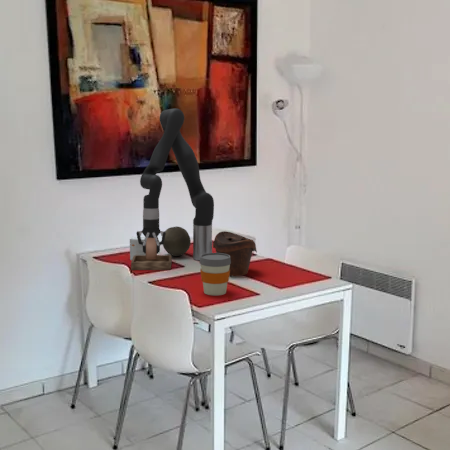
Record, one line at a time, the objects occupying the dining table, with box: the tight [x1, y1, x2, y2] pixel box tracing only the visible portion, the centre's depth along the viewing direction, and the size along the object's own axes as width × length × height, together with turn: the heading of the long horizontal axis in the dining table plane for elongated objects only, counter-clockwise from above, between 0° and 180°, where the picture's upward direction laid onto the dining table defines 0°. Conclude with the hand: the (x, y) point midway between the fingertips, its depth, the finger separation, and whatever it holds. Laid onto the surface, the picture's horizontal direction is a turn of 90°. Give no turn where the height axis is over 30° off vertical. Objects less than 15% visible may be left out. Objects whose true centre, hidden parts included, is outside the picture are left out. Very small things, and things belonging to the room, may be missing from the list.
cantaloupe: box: [162, 226, 192, 257], centre depth 311 cm, size 14×14×15 cm
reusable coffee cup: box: [199, 252, 231, 296], centre depth 252 cm, size 13×13×15 cm
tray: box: [130, 254, 173, 271], centre depth 292 cm, size 18×14×4 cm
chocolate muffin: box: [212, 230, 258, 277], centre depth 281 cm, size 18×20×18 cm
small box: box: [129, 236, 146, 261], centre depth 305 cm, size 8×6×10 cm
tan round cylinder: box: [146, 238, 158, 260], centre depth 291 cm, size 5×5×10 cm
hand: (151, 253), depth 292 cm, fingers closed on tan round cylinder, 5 cm apart
